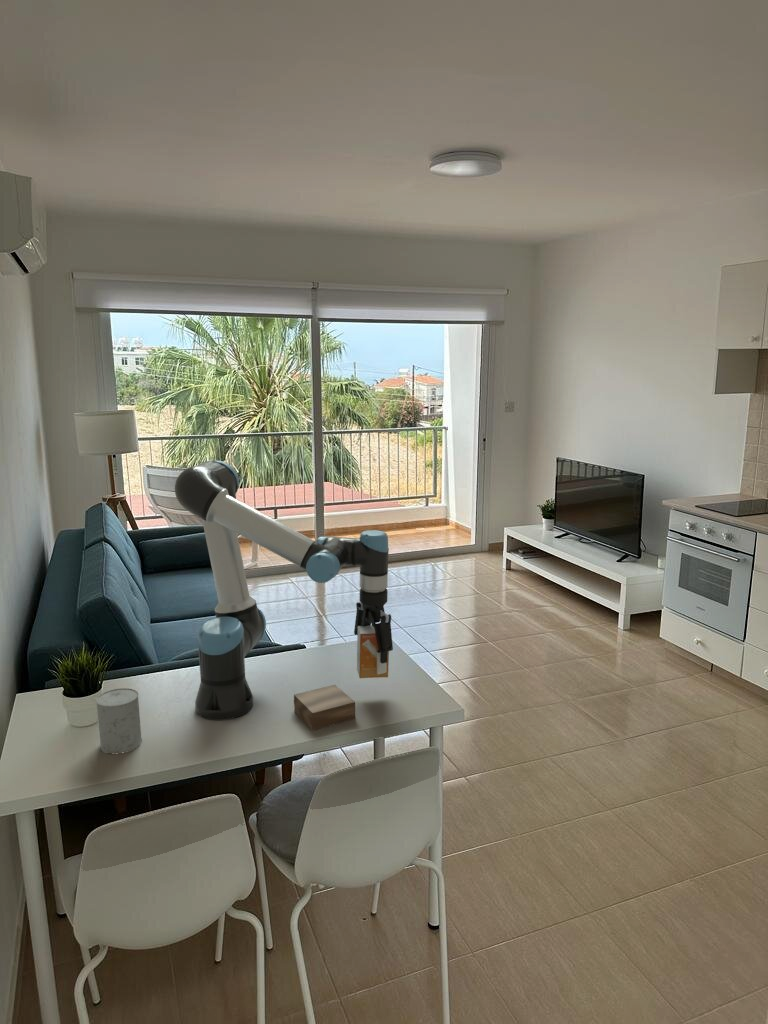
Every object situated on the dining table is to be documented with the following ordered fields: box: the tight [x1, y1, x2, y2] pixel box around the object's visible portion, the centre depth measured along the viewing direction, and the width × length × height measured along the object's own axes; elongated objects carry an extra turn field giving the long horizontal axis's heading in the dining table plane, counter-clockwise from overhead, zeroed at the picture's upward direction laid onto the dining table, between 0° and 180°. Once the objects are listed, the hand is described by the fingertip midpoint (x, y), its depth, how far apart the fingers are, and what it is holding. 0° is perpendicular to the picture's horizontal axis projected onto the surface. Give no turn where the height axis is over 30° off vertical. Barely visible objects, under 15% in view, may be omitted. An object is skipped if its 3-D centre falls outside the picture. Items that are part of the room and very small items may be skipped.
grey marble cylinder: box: [95, 687, 143, 755], centre depth 175 cm, size 10×10×12 cm
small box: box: [356, 624, 390, 679], centre depth 199 cm, size 8×6×13 cm
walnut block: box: [293, 684, 357, 731], centre depth 190 cm, size 12×12×5 cm
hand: (372, 667), depth 200 cm, fingers closed on small box, 8 cm apart
